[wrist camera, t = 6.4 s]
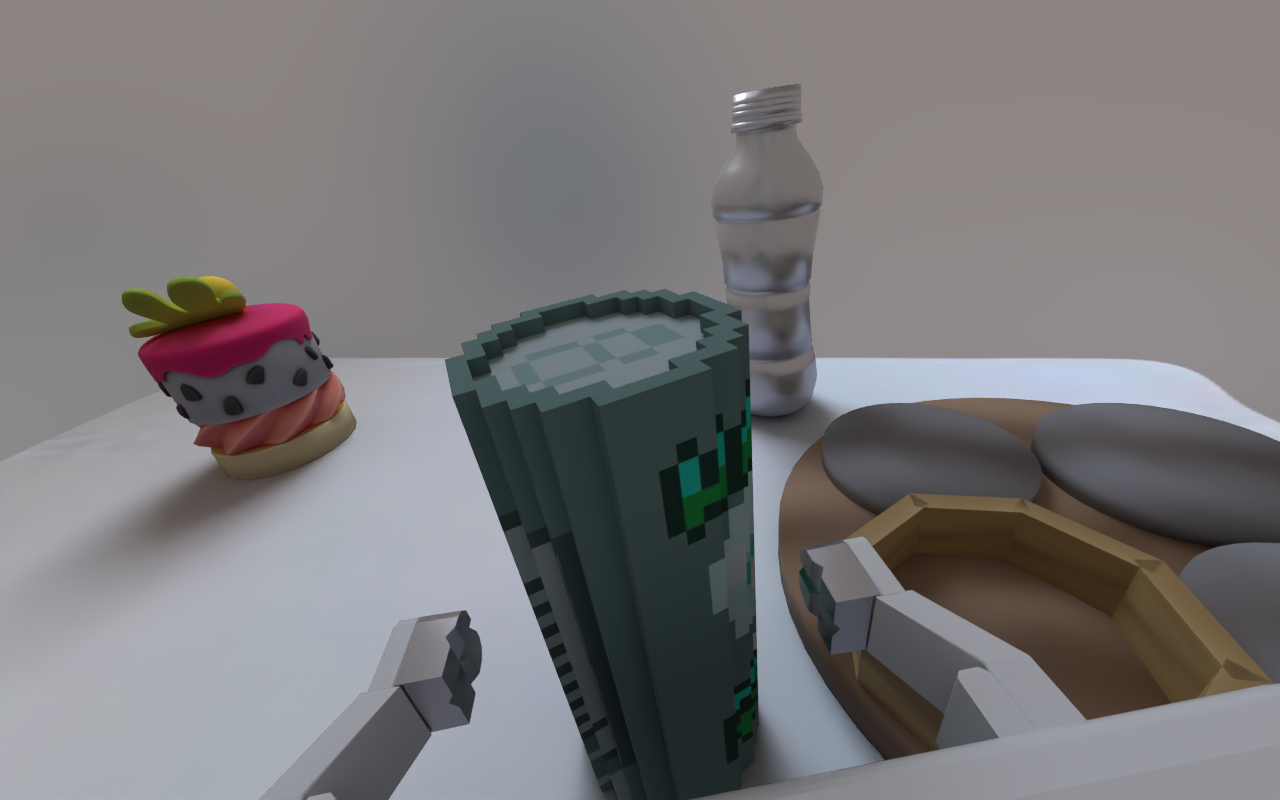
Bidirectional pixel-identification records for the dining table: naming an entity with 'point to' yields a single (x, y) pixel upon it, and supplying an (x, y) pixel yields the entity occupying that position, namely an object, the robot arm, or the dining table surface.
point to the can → (630, 522)
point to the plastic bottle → (770, 244)
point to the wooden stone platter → (1051, 547)
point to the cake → (242, 375)
